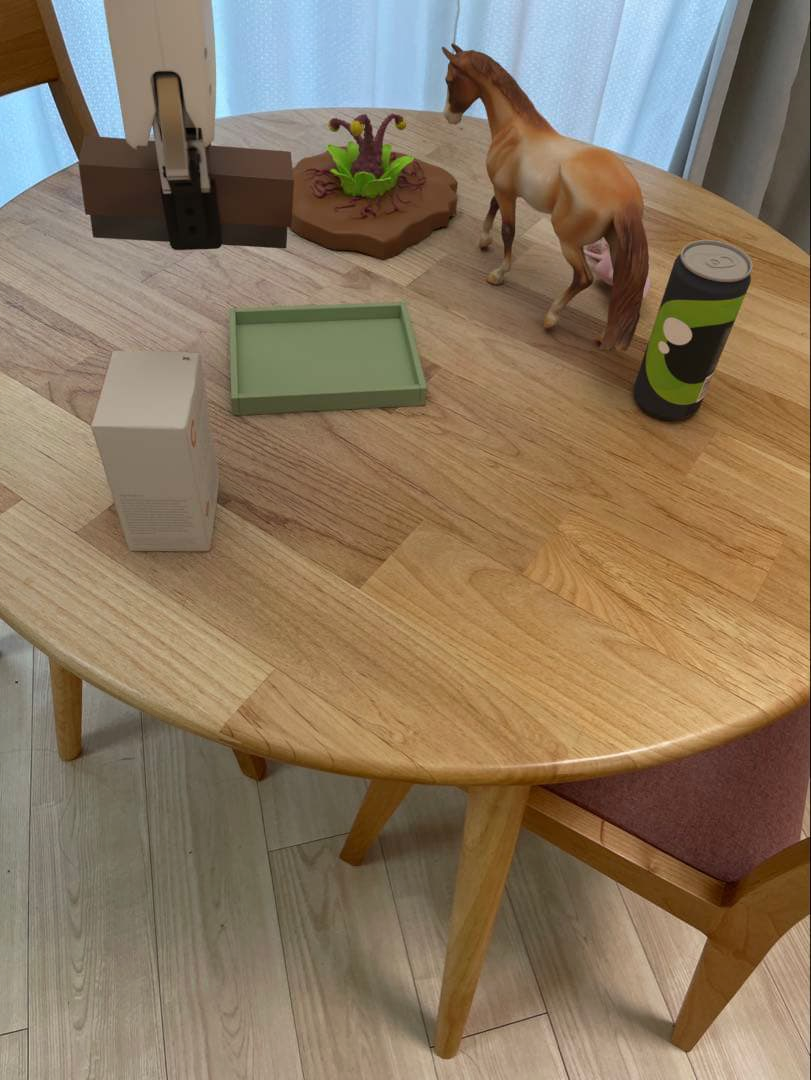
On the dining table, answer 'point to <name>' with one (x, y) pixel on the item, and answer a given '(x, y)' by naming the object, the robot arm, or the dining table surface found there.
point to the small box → (158, 449)
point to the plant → (369, 194)
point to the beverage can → (692, 328)
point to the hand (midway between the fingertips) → (197, 225)
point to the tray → (323, 358)
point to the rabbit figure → (606, 263)
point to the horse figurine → (555, 190)
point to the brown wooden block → (238, 175)
